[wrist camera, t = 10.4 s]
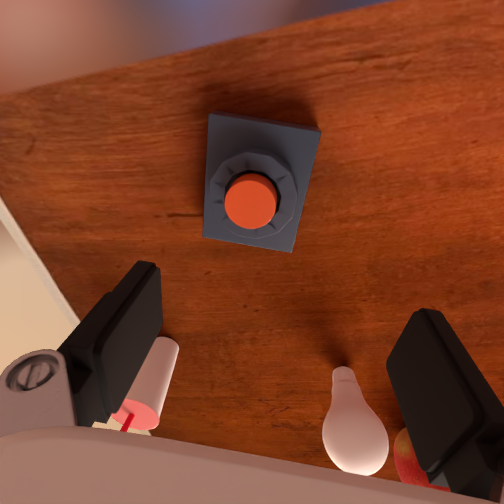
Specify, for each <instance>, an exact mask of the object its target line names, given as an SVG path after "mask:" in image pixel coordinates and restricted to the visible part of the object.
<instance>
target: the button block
mask: <svg viewBox="0 0 504 504" xmlns="http://www.w3.org/2000/svg"><path fill="white" fill-rule="evenodd" d="M320 136H321V131H320V129H319V128H318V127H313V126H307V125H301V124H295V123H289V122H283V121H277V120H270V119H264V118H258V117H252V116H246V115H240V114H234V113H227V112H221V111H214V112H212V113H209V116H208V136H207V156H206V176H205V196H204V215H203V235H202V236H203V237H205V238H211V239H216V240H222V241H228V242H233V243H239V244H245V245H251V246H256V247H262V248H268V249H273V250H279V251H285V252H290V253H292V250H293V246H294V242H295V238H296V234H297V230H298V226H299V222H300V218H301V213H302V209H303V205H304V201H305V197H306V193H307V189H308V185H309V181H310V177H311V172H312V168H313V164H314V160H315V156H316V152H317V148H318V144H319V140H320ZM248 173H256V174H260V175H262V176H264V177H266V178H267V179H269V180H270V181H271V183H272V184H273V185H274V187H275V190H276V193H277V201H276V210H275V213H274V216H273V217H272V219H271V220H270V221H269V222H268V223H267V224H266V225H264V226H262V227H260V228H255V229H247V228H243V227H240V226H238V225H237V224H235V223H234V222H233V221H232V220H231V219H230V218H229V216H228V215H227V213H226V210H225V197H226V194H227V192H228V190H229V188H230V187H231V185H232V183H233V182H234V181H235V180H236V179H237V178H238V177H240V176H242V175H244V174H248Z"/></svg>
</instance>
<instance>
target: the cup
mask: <svg viewBox="0 0 504 504" xmlns="http://www.w3.org/2000/svg"><path fill="white" fill-rule="evenodd" d="M178 351H179V347H178V344H177V343H176V342H175V341H174V340H172V339H170V338H168V337H157V338H156V339H155V341H154V343H153V345H152V347H151V349H150V351H149V353H148V355H147V357H146V359H145V361H144V363H143V365H142V366H141V368H140V370H139V372H138V374H137V376H136V378H135V380H134V382H133V384H132V386H131V388H130V390H129V392H128V394H127V395H126V397H125V399H124V401H123V403H122V405H121V407H120V409H119V411H118V412H117V413H116V414H113V413H112V414H111V416H112V417H113V418H114V419H115V420H116V421H117V422H119V423H121V424H122V425H123V426H122V428H121V430H120V431H123V432H127V430H128V428H129V427H130V428H134V429H139V430H148V429H153V428H155V427H156V426H157V425H158V424H159V417H160V414H161V410H162V407H163V403H164V400H165V396H166V393H167V390H168V386H169V383H170V379H171V376H172V372H173V369H174V365H175V362H176V358H177V354H178Z"/></svg>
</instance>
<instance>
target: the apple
mask: <svg viewBox="0 0 504 504" xmlns="http://www.w3.org/2000/svg"><path fill="white" fill-rule="evenodd" d="M394 460H395V465H396V469H397V472H398V474H399V477H400V479H401V481H402V483H406V484H411V485H417V486H422V487H427V488H432V489H437V490H441V491H446V492H451V491H450V488H449V487H443V486H437V485H432V484H429V481H428V478H427V476H426V473H425V471H423V470H422V469H421V468H420V466H419V464H418V461H417V458H416V455H415V452H414V449H413V446H412V443H411V440H410V437H409V434H408V431H407V428H406V427H405V428H403V429H402V430H401V431H400V432H399V433H398V435H397V437H396V439H395V443H394Z"/></svg>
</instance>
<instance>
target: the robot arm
mask: <svg viewBox="0 0 504 504" xmlns="http://www.w3.org/2000/svg"><path fill="white" fill-rule="evenodd" d="M162 323H163V315H162V294H161V274H160V268H158V267H156V265H155V263H152V262H146V261H140V260H139V261H137V262H136V264H135V265H134V266H133V267H132V268H131V269H130V271H129V272H128V273H127V274H126V275H125V277H124V278H123V279H122V280H121V281H120V283H119V284H118V285H117V286H116V287H115V288H114V290H113V291H112V292H108V293H106V294H105V295H104V296H103V297H102V298H101V299H100V300H99V302H98V303H97V304H96V305H95V306H94V307H93V309H92V310H91V311H90V312H89V313H88V314H87V316H86V317H85V318H84V319H83V320H82V321H81V322H80V324H79V325H78V326H77V327H76V328H75V329H74V331H73V332H72V333H71V334H70V335H69V336H68V338H67V339H66V340H65V341H64V342H63V343H62V344H61V346H60V347H59V348H58V349H57V350H56V351H55V350H51V349H46V350H45V349H43V350H38V351H33V352H30V353H28V354H25V355H23V356H21V357H19V358H18V359H16V360H14V361H13V362H12V363H11V364H10V365H9V366H7V367H6V368H5V370H4V371H3V373H2V374H1V376H0V504H504V407H503V405H502V404H501V402H500V401H499V399H498V398H497V396H496V395H495V393H494V392H493V390H492V389H491V387H490V386H489V384H488V383H487V381H486V379H485V378H484V376H483V375H482V373H481V372H480V370H479V369H478V367H477V366H476V364H475V363H474V361H473V360H472V358H471V357H470V355H469V354H468V352H467V350H466V349H465V347H464V346H463V344H462V343H461V341H460V340H459V338H458V337H457V335H456V334H455V332H454V331H453V329H452V328H451V326H450V325H449V323H448V322H447V320H446V318H445V317H444V315H443V314H442V313H441V312H440V311H437V310H431V309H426V308H421V309H419V310H418V311H415V312H414V313H413V314H412V316H411V318H410V319H409V321H408V323H407V325H406V327H405V328H404V330H403V332H402V334H401V336H400V337H399V339H398V341H397V343H396V345H395V346H394V348H393V350H392V352H391V354H390V355H389V357H388V359H387V362H386V368H387V372H388V375H389V378H390V381H391V384H392V387H393V390H394V393H395V396H396V398H397V401H398V404H399V407H400V410H401V413H402V416H403V419H404V422H405V425H406V428H407V431H408V434H409V437H410V440H411V443H412V446H413V449H414V452H415V455H416V458H417V461H418V464H419V466H420V468H421V469H422V470H423V471H425V473H426V476H427V478H428V481H429V484H432V485H437V486H443V487H449V488H450V491H451V492H446V491H441V490H437V489H432V488H427V487H422V486H417V485H411V484H406V483H401V482H396V481H391V480H385V479H380V478H375V477H370V476H365V475H360V474H354V473H349V472H344V471H339V470H333V469H328V468H323V467H317V466H312V465H307V464H301V463H296V462H291V461H285V460H280V459H275V458H269V457H264V456H259V455H253V454H248V453H243V452H237V451H232V450H226V449H221V448H215V447H210V446H204V445H199V444H193V443H188V442H182V441H177V440H171V439H166V438H160V437H154V436H148V435H141V434H135V433H128V432H123V431H117V430H111V429H102V428H93V427H92V425H93V423H94V422H95V421H96V422H100V423H107V421H108V419H109V418H110V416H111V414H112V413H113V414H116V413H117V412H118V411H119V409H120V407H121V405H122V403H123V401H124V399H125V397H126V395H127V394H128V392H129V390H130V388H131V386H132V384H133V382H134V380H135V378H136V376H137V374H138V372H139V370H140V368H141V366H142V365H143V363H144V361H145V359H146V357H147V355H148V353H149V351H150V349H151V347H152V345H153V343H154V341H155V339H156V338H157V336H158V334H159V332H160V330H161V327H162Z"/></svg>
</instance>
